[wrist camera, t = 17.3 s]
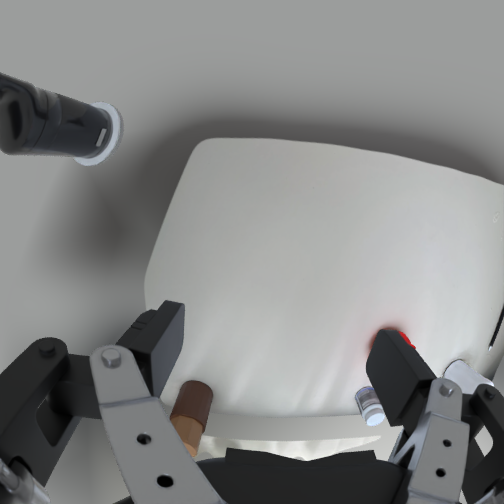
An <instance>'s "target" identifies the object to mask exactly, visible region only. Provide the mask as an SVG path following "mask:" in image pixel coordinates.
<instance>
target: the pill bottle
mask: <svg viewBox="0 0 504 504" xmlns="http://www.w3.org/2000/svg"><path fill="white" fill-rule="evenodd" d="M355 398H356V402H357V404H358V407H359V410H360V413H361V415H362V418H364V419H365V421H366V424H367V425H369V426H374V425H377V424H379V423H381V422H382V421H383V420H384V418H385V415H384V412H383V408H382V406H381V404H380V401H379V399H378V397H377V395H376V393H375V390H374V388H372V387H366V388H363V389H361V390H360V391H359V392H358V393H357V394H356V397H355Z"/></svg>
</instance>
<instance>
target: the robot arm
mask: <svg viewBox="0 0 504 504" xmlns="http://www.w3.org/2000/svg"><path fill="white" fill-rule="evenodd" d="M112 134H113V121H112V118H111V116H110V114H109V113H108V112H107V111H106V110H104V109H101V108H97V107H94V106H92V105H89V104H86V103H83V102H80V101H78V100H75V99H72V98H69V97H66V96H63V95H60V94H57V93H53V92H50V91H47V90H44V89H40V88H37V87H35V86H34V85H32V84H31V83H29V82H26V81H23V80H20V79H17V78H14V77H11V76H9V75H6V74H3V73H1V72H0V150H1V151H2V152H3V153H5V154H8V155H43V156H65V157H80V158H86V159H90V158H94V157H97V156H98V155H100V154H101V153H102V152H103V151H104V150H105V149H106V147H107V146H108V144H109V142H110V140H111V137H112ZM184 316H185V305H184V304H183V303H178V302H173V301H168V300H165V301H164V302H163V304H162V305H161V306H160V307H159V309H158V310H152V309H151V310H149V311H146V312H145V313H142V314H141V315H140V316H139V317H138V318H137V319H136V321H135V322H134V323H133V324H132V325H131V328H129V329H128V330H127V331H126V332H125V333H124V335H123V336H122V337H121V338H120V339H119V340H118V342H117V343H116V344H115V345H104V346H101V347H98V348H97V349H95V350H94V351H93V352H92V353H91V355H90V356H82V355H74V354H68V350H67V346H66V344H65V343H64V342H63V341H62V340H60V339H57V338H52V337H49V338H48V337H47V338H42V339H39V340H36V341H35V342H33V343H32V344H31V345H30V346H29V347H28V348H27V349H26V350H25V351H24V352H23V353H22V354H21V355H19V356H18V357H17V358H16V359H15V360H14V362H12V363H11V364H10V365H9V366H8V367H7V368H6V369H5V370H4V371H3V372H2V373H1V374H0V504H51V500H50V497H49V495H48V493H47V491H46V490H45V489H44V487H45V485H46V483H47V481H48V479H49V477H50V475H51V473H52V471H53V469H54V467H55V465H56V464H57V462H58V460H59V458H60V456H61V454H62V452H63V451H64V449H65V447H66V445H67V443H68V441H69V440H70V438H71V436H72V434H73V432H74V431H75V429H76V427H77V425H78V424H79V422H80V420H81V419H82V417H86V418H94V419H102V420H103V423H104V426H105V429H106V433H107V436H108V439H109V442H110V445H111V448H112V451H113V454H114V456H115V459H116V462H117V465H118V467H119V470H120V472H121V475H122V477H123V479H124V482H125V484H126V487H127V489H128V491H129V493H130V495H131V496H129V497H126V498H124V499H122V500H120V501H118V502H116V503H114V504H462V503H460V502H459V497H460V492H461V489H462V491H463V493H464V496H465V499H466V502H467V504H504V397H503V396H502V395H501V394H500V392H499V391H498V390H497V389H496V388H495V387H493V386H491V385H489V384H484V383H483V384H479V385H478V386H477V388H476V389H475V391H474V393H473V394H465V393H462V390H461V388H460V387H459V386H458V385H457V384H456V383H455V382H453V381H452V380H449V379H446V378H437V377H436V376H435V374H434V373H433V372H432V370H431V369H430V368H429V366H428V365H427V364H426V362H424V360H423V359H422V357H421V356H420V355H419V353H418V352H417V351H416V350H415V348H414V347H412V346H411V345H410V344H408V343H407V342H406V341H405V339H404V338H403V337H402V335H401V334H400V333H399V332H398V331H397V330H383V329H382V330H380V331H379V332H378V334H377V336H376V339H375V341H374V344H373V346H372V349H371V352H370V354H369V356H368V359H367V362H366V373H367V375H368V377H369V380H370V382H371V384H372V386H373V388H374V390H375V393H376V395H377V397H378V399H379V401H380V404H381V406H382V408H383V410H384V412H385V415H386V417H387V419H388V422H389V424H390V426H391V427H393V426H401V425H403V427H404V428H403V429H402V431H401V432H400V434H399V436H398V438H397V441H396V443H395V446H394V448H393V450H392V453H391V455H390V457H389V459H388V461H383V460H377V459H376V456H375V453H374V450H368V451H358V452H345V453H339V454H335V455H331V456H328V457H324V458H319V459H315V460H311V461H301V460H297V459H292V458H288V457H284V456H280V455H276V454H272V453H268V452H261V451H251V450H242V449H234V448H227V450H226V456H225V457H222V458H212V459H206V460H201V461H197V462H195V461H194V459H193V457H192V456H191V454H190V453H189V451H188V450H187V448H186V446H185V445H184V443H183V441H182V440H181V438H180V436H179V435H178V433H177V431H176V430H175V428H174V426H173V424H172V423H171V421H170V419H169V417H168V415H167V414H166V412H165V410H164V408H163V406H162V404H161V402H160V400H159V397H160V395H161V393H162V391H163V389H164V387H165V384H166V382H167V380H168V378H169V376H170V374H171V371H172V369H173V367H174V365H175V363H176V361H177V359H178V356H179V354H180V352H181V349H182V345H183V339H184ZM45 398H46V399H45ZM44 399H45V400H44ZM43 400H44V401H43ZM42 402H43V403H42ZM41 403H42V404H41ZM40 404H41V405H40ZM39 406H40V407H39ZM38 407H39V408H38ZM484 425H485V427H486V428H487V430H488V432H489V433H490V435H491V437H492V439H493V446H492V449H491V450H490V452H489V453H488V454H487V455H486V456H485V457H484V455H483V453H482V451H481V450H480V448H479V446H478V444H477V442H476V440H475V436H476V435H477V434H478V433H479V431H480V430H481V429H482V428H483V426H484Z"/></svg>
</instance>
